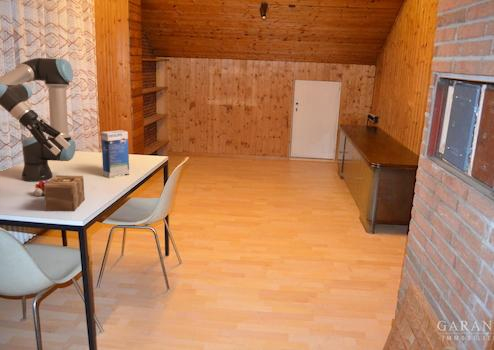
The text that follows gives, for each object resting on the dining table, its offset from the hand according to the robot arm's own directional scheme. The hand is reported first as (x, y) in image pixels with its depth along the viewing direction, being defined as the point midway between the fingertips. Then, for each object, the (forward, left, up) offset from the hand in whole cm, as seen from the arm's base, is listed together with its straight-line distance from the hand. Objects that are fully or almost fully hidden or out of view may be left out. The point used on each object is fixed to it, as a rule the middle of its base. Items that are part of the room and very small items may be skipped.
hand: (63, 150), depth 187 cm
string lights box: (-55, +10, -26) cm, 62 cm away
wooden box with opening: (0, -1, -26) cm, 26 cm away
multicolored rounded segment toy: (-16, -15, -26) cm, 34 cm away
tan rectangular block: (0, -1, -25) cm, 25 cm away
